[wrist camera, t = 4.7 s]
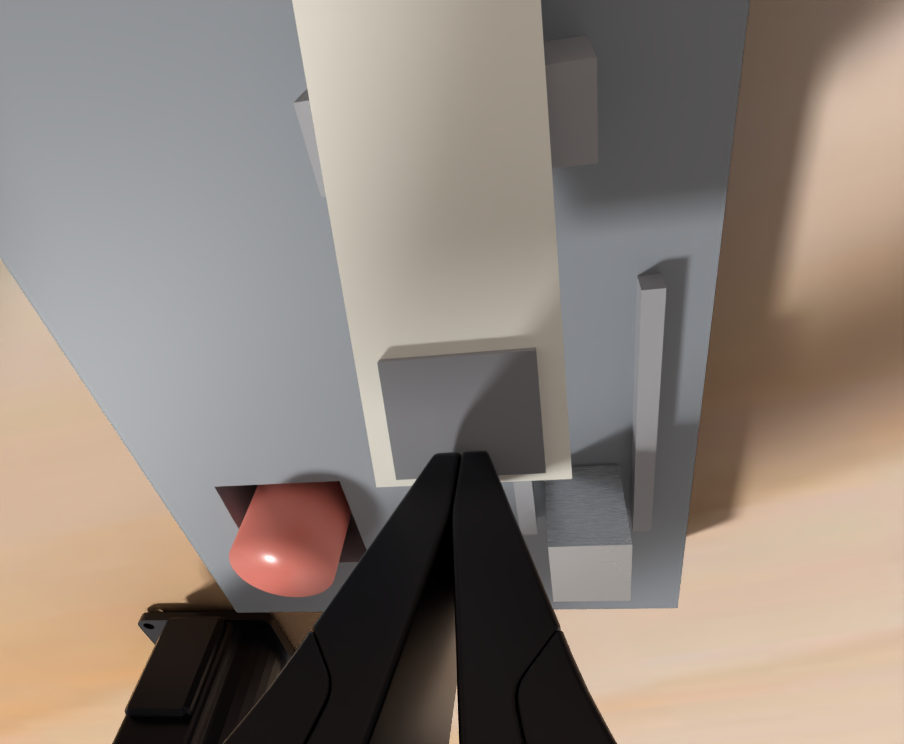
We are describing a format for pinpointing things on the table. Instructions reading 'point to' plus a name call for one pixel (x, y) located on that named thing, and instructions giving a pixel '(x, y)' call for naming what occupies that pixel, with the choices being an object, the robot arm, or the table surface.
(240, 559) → the button
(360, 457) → the panel
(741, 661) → the table surface
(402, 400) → the white long block
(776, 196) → the table surface
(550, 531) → the slider
